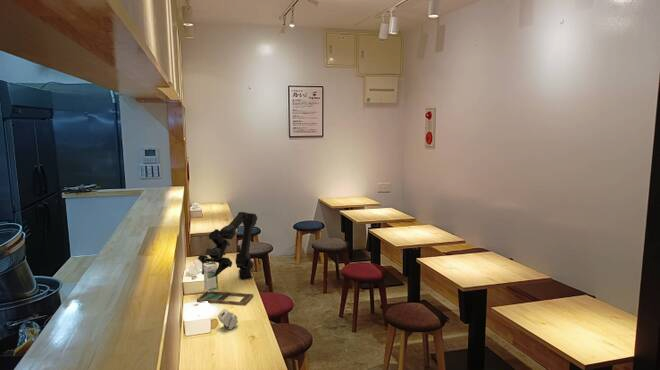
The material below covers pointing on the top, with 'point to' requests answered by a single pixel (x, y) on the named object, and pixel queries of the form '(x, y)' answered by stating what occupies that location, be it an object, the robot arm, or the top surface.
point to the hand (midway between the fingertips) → (208, 275)
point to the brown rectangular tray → (224, 297)
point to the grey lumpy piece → (227, 319)
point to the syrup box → (210, 276)
